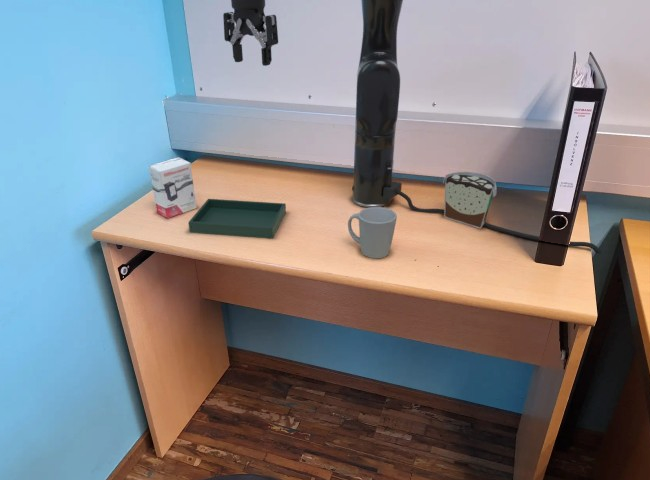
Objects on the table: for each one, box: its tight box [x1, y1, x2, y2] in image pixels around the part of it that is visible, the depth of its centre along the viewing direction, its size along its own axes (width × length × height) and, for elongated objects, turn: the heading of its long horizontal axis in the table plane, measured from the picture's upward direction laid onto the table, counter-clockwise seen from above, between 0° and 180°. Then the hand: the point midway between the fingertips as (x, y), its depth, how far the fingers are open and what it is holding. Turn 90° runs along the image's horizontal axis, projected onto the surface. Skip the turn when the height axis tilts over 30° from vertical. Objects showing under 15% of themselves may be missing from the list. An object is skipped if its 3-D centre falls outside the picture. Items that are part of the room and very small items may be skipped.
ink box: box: [148, 157, 198, 219], centre depth 128 cm, size 8×5×12 cm, turn 134°
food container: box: [442, 171, 498, 230], centre depth 122 cm, size 12×6×10 cm, turn 47°
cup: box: [347, 206, 398, 259], centre depth 111 cm, size 8×10×8 cm
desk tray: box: [188, 198, 287, 239], centre depth 125 cm, size 19×13×2 cm
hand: (252, 63), depth 128 cm, fingers open, 8 cm apart
